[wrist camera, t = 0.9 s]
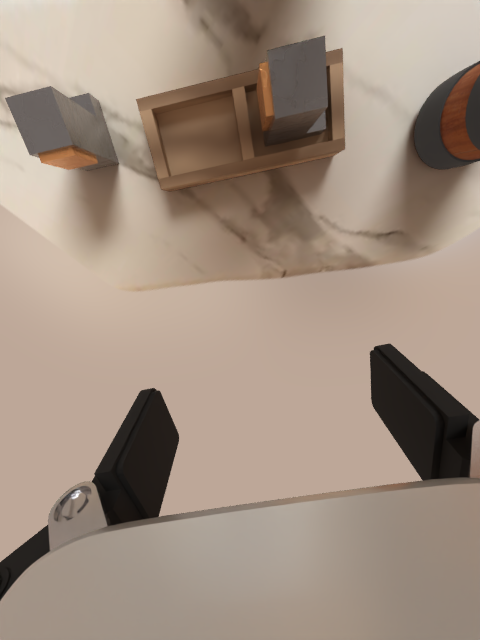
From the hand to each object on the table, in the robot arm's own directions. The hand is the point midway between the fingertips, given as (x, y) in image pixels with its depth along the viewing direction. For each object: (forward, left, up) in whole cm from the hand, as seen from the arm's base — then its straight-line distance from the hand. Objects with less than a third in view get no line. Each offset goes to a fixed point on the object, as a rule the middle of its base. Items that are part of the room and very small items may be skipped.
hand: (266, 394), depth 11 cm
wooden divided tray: (-15, +2, -26) cm, 30 cm away
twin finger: (-15, +7, -24) cm, 29 cm away
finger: (-18, -15, -26) cm, 35 cm away
